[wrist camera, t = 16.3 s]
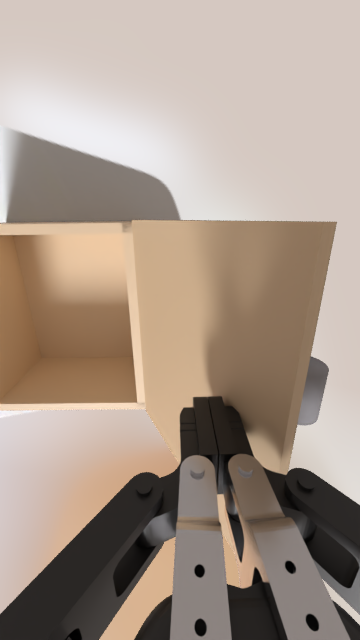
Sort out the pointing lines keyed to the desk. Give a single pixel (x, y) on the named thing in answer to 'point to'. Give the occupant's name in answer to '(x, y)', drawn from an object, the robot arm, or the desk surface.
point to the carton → (69, 317)
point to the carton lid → (233, 326)
